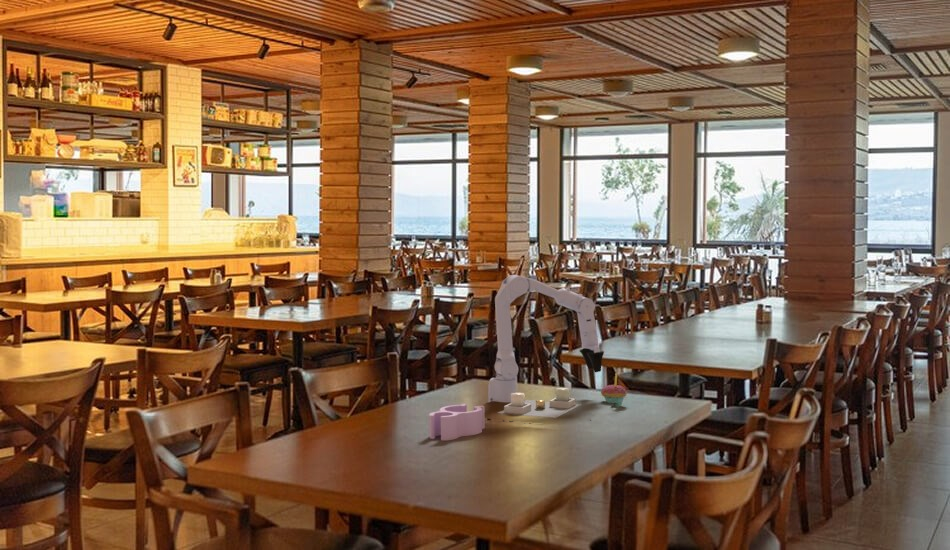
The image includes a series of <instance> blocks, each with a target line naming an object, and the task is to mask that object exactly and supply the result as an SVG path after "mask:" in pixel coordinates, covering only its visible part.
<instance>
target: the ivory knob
mask: <svg viewBox="0 0 950 550" xmlns="http://www.w3.org/2000/svg"><path fill="white" fill-rule="evenodd" d="M525 400H526V399H525V393H524V392H517V393H511V402H510V403H511V406H524V405H525Z"/></svg>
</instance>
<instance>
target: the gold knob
mask: <svg viewBox="0 0 950 550" xmlns="http://www.w3.org/2000/svg"><path fill="white" fill-rule="evenodd" d="M535 401H536V409H545V401H546V400H543V399H537V400H535Z"/></svg>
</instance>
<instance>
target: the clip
mask: <svg viewBox="0 0 950 550" xmlns="http://www.w3.org/2000/svg"><path fill="white" fill-rule="evenodd" d="M467 409H468V407H467V403H461V404H453V405H446V406H443V407H440V408H439V410H438V411H433V412H430V413H428V425H429V426H428V430H429V432H428V433H429V434H428V435H429V439H431V440H435V439H436V437H438V436H440V440H441V441H450V440H456V439H459V438H460V437H467V436H469V437H470V436H475V435H478V434H481V433H482V432H483V430H484V429H485V428H486V426H485V425H486V423H485V421H486V420H485V415H486V414H485V413H486V412H485V405H477V406H473V410H470V411H468V410H467Z"/></svg>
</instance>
